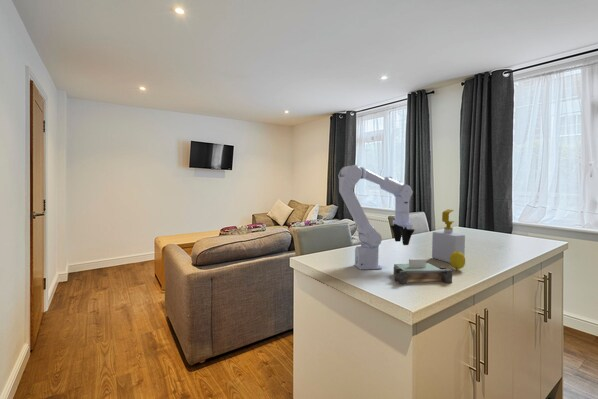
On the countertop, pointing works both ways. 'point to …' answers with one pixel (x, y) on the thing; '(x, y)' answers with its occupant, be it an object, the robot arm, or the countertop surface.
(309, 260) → the countertop surface
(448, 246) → the soap bottle
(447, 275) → the brown wooden tray
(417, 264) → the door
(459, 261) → the lemon
